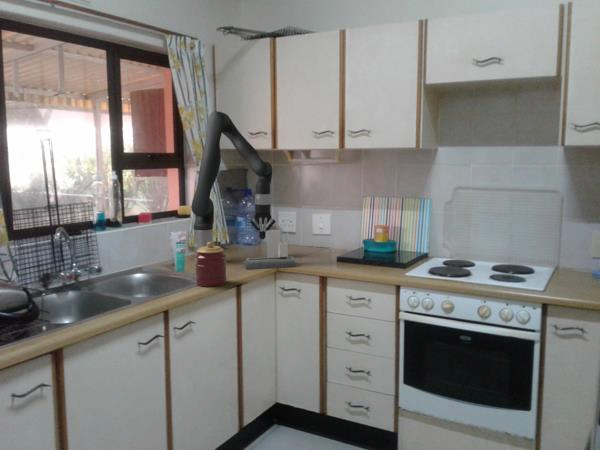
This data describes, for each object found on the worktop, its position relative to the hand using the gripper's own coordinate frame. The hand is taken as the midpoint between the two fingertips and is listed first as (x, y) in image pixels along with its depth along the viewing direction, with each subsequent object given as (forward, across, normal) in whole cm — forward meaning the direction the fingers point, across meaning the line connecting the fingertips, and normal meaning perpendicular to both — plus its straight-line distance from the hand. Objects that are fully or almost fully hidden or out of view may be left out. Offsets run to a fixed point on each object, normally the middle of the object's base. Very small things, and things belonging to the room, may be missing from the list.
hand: (262, 239), depth 253 cm
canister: (+14, -25, -31) cm, 43 cm away
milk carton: (+14, +10, +21) cm, 27 cm away
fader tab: (+11, +10, 0) cm, 15 cm away
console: (+13, +4, 0) cm, 14 cm away
